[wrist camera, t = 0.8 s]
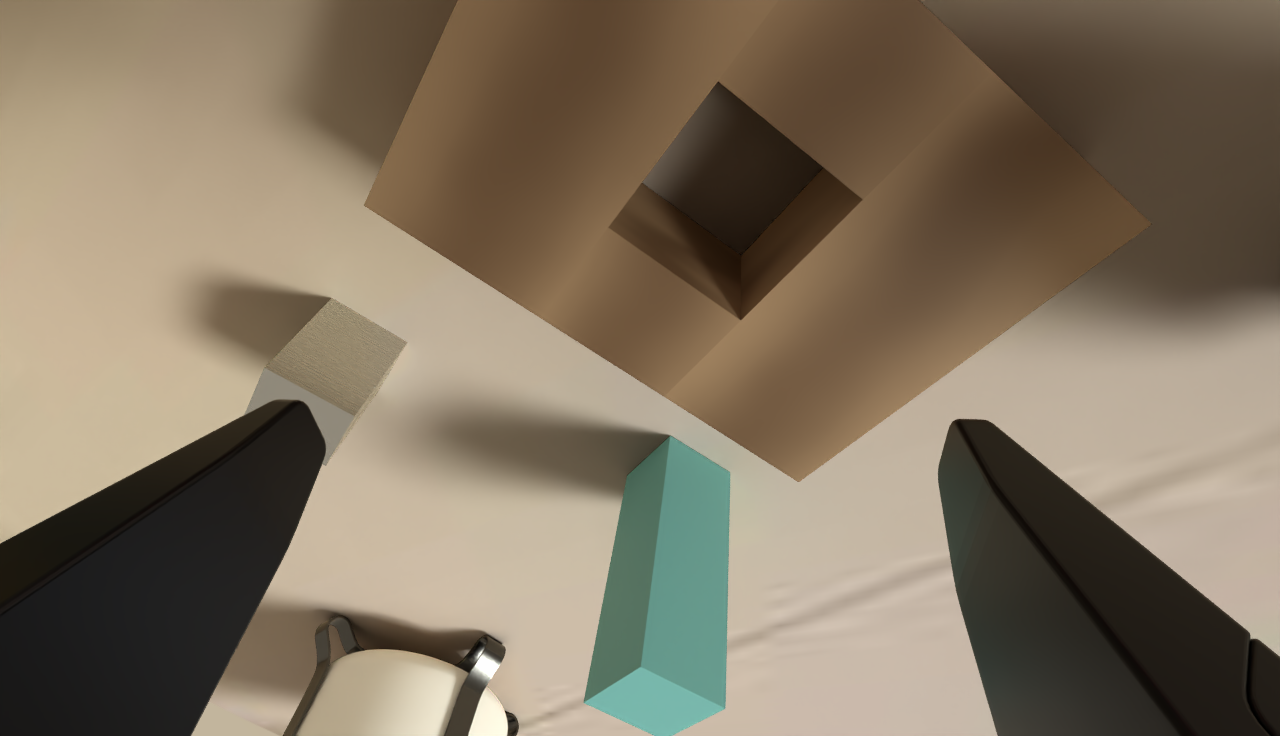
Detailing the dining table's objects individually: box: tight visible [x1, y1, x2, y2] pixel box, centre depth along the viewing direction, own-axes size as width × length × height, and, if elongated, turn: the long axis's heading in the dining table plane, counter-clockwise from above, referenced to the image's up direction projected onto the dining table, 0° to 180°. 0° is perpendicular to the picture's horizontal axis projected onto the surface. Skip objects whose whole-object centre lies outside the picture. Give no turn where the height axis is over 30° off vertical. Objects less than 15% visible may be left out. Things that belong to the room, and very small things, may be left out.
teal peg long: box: [584, 436, 730, 736], centre depth 25 cm, size 3×3×10 cm
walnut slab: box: [364, 0, 1152, 482], centre depth 18 cm, size 16×12×4 cm
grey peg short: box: [245, 298, 407, 466], centre depth 25 cm, size 3×3×4 cm
